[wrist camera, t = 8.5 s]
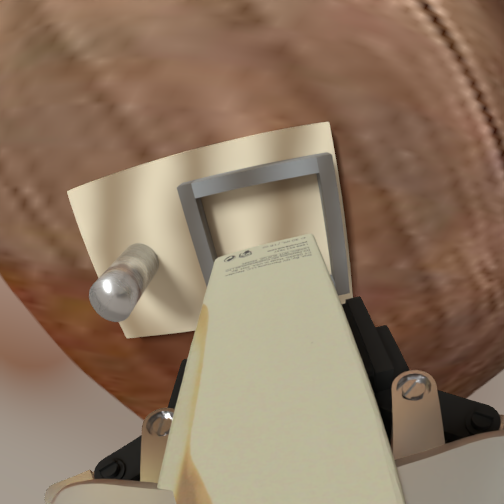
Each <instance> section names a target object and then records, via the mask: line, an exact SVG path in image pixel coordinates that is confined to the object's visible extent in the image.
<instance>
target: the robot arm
mask: <svg viewBox="0 0 504 504" xmlns="http://www.w3.org/2000/svg"><path fill="white" fill-rule="evenodd" d="M342 307H343V310H344V312H345V315H346V318H347V320H348V323H349V326H350V328H351V331H352V334H353V336H354V339H355V342H356V345H357V348H358V350H359V353H360V356H361V358H362V361H363V364H364V367H365V370H366V372H367V375H368V378H369V381H370V384H371V387H372V390H373V393H374V396H375V399H376V402H377V405H378V408H379V411H380V414H381V417H382V421H383V424H384V427H385V430H386V434H387V437H388V440H389V443H390V447H391V450H392V453H393V457H394V460H395V464H396V468H397V471H398V475H399V479H400V482H401V486H402V490H403V494H404V498H405V502H406V504H504V415H499V414H498V412H497V411H496V410H495V409H494V408H493V407H491V406H489V405H486V404H482V403H479V402H475V401H472V400H469V399H465V398H462V397H459V396H455V395H452V394H449V393H446V392H442V391H439V390H437V386H436V383H435V380H434V378H433V377H432V376H431V375H430V374H428V373H426V372H424V371H420V370H409V368H408V366H407V364H406V362H405V360H404V358H403V356H402V354H401V352H400V350H399V348H398V346H397V344H396V342H395V340H394V338H393V336H392V334H391V332H390V330H389V328H388V327H387V326H386V325H384V326H380V327H376V328H375V326H374V324H373V322H372V320H371V318H370V315H369V313H368V311H367V309H366V307H365V305H364V303H363V301H362V299H361V297H360V296H359V297H354V298H350V299H346V300H345V303H344V304H342ZM186 363H187V359H184V360H183V361H182V363H181V365H180V369H179V372H178V375H177V379H176V382H175V385H174V389H173V392H172V395H171V399H170V402H169V405H168V408H161V409H158V410H155V411H153V412H152V413H150V414H149V415H148V416H147V417H146V418H145V420H144V422H143V425H142V435H141V436H140V437H138V438H137V439H135V440H133V441H132V442H130V443H129V444H127V445H126V446H124V447H122V448H121V449H119V450H117V451H116V452H114V453H112V454H111V455H109V456H107V457H106V458H104V459H103V460H101V461H100V462H99V463H98V465H97V466H96V468H95V471H94V472H92V471H91V470H88V471H86V472H83V473H81V474H78V475H76V476H73V477H71V478H68V479H66V480H63V481H60V482H57V483H55V484H53V485H51V486H49V488H48V489H47V490H46V493H45V504H176V501H175V497H174V494H173V491H170V490H163V489H159V488H157V484H158V480H159V475H160V471H161V467H162V463H163V458H164V454H165V450H166V445H167V440H168V436H169V431H170V427H171V423H172V419H173V415H174V411H175V407H176V403H177V399H178V395H179V392H180V387H181V384H182V380H183V376H184V371H185V367H186Z"/></svg>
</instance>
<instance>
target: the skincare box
mask: <svg viewBox="0 0 504 504" xmlns="http://www.w3.org/2000/svg"><path fill="white" fill-rule="evenodd" d="M157 488H159V489H163V490H170V491H173V494H174V497H175V501H176V504H406V502H405V498H404V494H403V490H402V486H401V482H400V479H399V475H398V471H397V468H396V464H395V460H394V457H393V453H392V450H391V447H390V443H389V440H388V437H387V434H386V430H385V427H384V424H383V421H382V417H381V414H380V411H379V408H378V405H377V402H376V399H375V396H374V393H373V390H372V387H371V384H370V381H369V378H368V375H367V372H366V370H365V367H364V364H363V361H362V358H361V356H360V353H359V350H358V348H357V345H356V342H355V339H354V336H353V334H352V331H351V328H350V326H349V323H348V320H347V318H346V315H345V312H344V310H343V307H342V304H341V301H340V299H339V296H338V294H337V291H336V289H335V287H334V284H333V281H332V279H331V276H330V274H329V271H328V269H327V266H326V264H325V261H324V259H323V256H322V254H321V252H320V249H319V247H318V245H317V242H316V239H315V237H314V235H313V234H305V235H301V236H297V237H293V238H288V239H284V240H280V241H275V242H271V243H267V244H264V245H259V246H256V247H252V248H248V249H244V250H241V251H238V252H234V253H231V254H228V255H224V256H221V257H218V258H216V259H215V262H214V265H213V268H212V272H211V276H210V279H209V283H208V286H207V289H206V293H205V297H204V300H203V304H202V308H201V312H200V315H199V319H198V323H197V327H196V330H195V333H194V337H193V341H192V344H191V348H190V352H189V355H188V359H187V363H186V367H185V371H184V376H183V380H182V384H181V387H180V392H179V395H178V399H177V403H176V407H175V411H174V415H173V419H172V423H171V427H170V431H169V436H168V440H167V445H166V450H165V454H164V458H163V463H162V467H161V471H160V475H159V480H158V484H157Z"/></svg>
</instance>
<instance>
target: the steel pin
mask: <svg viewBox="0 0 504 504" xmlns="http://www.w3.org/2000/svg"><path fill="white" fill-rule="evenodd" d="M158 268H159V260H158V257H157V255H156V253H155V252H154V250H153V249H152V248H150V247H149V246H147V245H145V244H141V243H136V244H132V245H130V246H129V247H128V248H127V249H126V250H125V251H124V252H123V253H122V254H121V255H120V256H119V257H118V258H117V259H116V260H115V261H114V262H113V263H112V265H111V266H110V267H109V268H108V269H107V270H106V271H105V272H104V273H103V274H102V275H101V276H100V278H99V279H98V280H97V281H96V282H95V283H94V284H93V285H92V287H91V289H90V292H89V298H90V302H91V304H92V306H93V308H94V309H95V311H96V312H97V313H98V314H99V315H100V316H102V317H103V318H105V319H107V320H109V321H113V322H120V321H124V320H126V319H127V318H128V317H129V315H130V314H131V312H132V311H133V309H134V307H135V306H136V304H137V302H138V301H139V299H140V298H141V296H142V294H143V293H144V291H145V290H146V288H147V287H148V285H149V283H150V282H151V280H152V279H153V277H154V276H155V274H156V273H157V271H158Z"/></svg>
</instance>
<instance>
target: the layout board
mask: <svg viewBox="0 0 504 504" xmlns="http://www.w3.org/2000/svg"><path fill="white" fill-rule="evenodd" d="M67 193H68V197H69V200H70V203H71V206H72V209H73V212H74V215H75V218H76V221H77V223H78V226H79V229H80V232H81V235H82V237H83V240H84V243H85V245H86V248H87V250H88V253H89V256H90V258H91V261H92V263H93V266H94V268H95V270H96V273H97V275H98V278H100V276H101V275H102V274H103V273H104V272H105V271H106V270H107V269H108V268H109V267H110V266H111V265H112V263H113V262H114V261H115V260H116V259H117V258H118V257H119V256H120V255H121V254H122V253H123V252H124V251H125V250H126V249H127V248H128V247H129V246H130V245H132V244H136V243H141V244H145V245H147V246H149V247H150V248H152V249H153V250H154V252H155V253H156V255H157V257H158V260H159V268H158V271H157V273H156V274H155V276H154V277H153V279H152V280H151V282H150V283H149V285H148V287H147V288H146V290H145V291H144V293H143V294H142V296H141V298H140V299H139V301H138V302H137V304H136V306H135V307H134V309H133V311H132V312H131V314H130V315H129V317H128V318H127V319H126V320H124V321H120V322H119V324H120V326H121V328H122V330H123V332H124V334H125V336H126V338H135V337H145V336H154V335H163V334H172V333H180V332H188V331H195V330H196V327H197V323H198V319H199V315H200V312H201V308H202V304H203V300H204V297H205V293H206V289H207V286H208V283H209V279H210V276H211V272H212V268H213V265H214V262H215V259H216V258H218V257H221V256H224V255H228V254H231V253H234V252H238V251H241V250H244V249H248V248H252V247H256V246H259V245H264V244H267V243H271V242H275V241H280V240H284V239H288V238H293V237H297V236H301V235H305V234H313V235H314V237H315V239H316V242H317V245H318V247H319V249H320V252H321V254H322V256H323V259H324V261H325V264H326V266H327V269H328V271H329V274H330V276H331V279H332V281H333V284H334V287H335V289H336V291H337V294H338V296H339V299H340V301H341V304H344V303H345V300H346V299H350V298H353V294H352V281H351V270H350V260H349V250H348V241H347V232H346V224H345V216H344V209H343V201H342V194H341V188H340V181H339V175H338V168H337V162H336V157H335V151H334V145H333V140H332V135H331V129H330V124H329V122H321V123H315V124H309V125H303V126H297V127H291V128H286V129H281V130H275V131H270V132H265V133H260V134H256V135H251V136H246V137H242V138H237V139H233V140H229V141H225V142H220V143H216V144H212V145H208V146H204V147H201V148H197V149H193V150H189V151H186V152H182V153H178V154H175V155H171V156H168V157H164V158H161V159H158V160H154V161H151V162H148V163H145V164H141V165H138V166H135V167H132V168H129V169H126V170H123V171H120V172H117V173H114V174H111V175H108V176H105V177H103V178H100V179H97V180H94V181H91V182H89V183H86V184H83V185H81V186H78V187H76V188H73V189H71V190H69V191H67Z"/></svg>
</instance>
